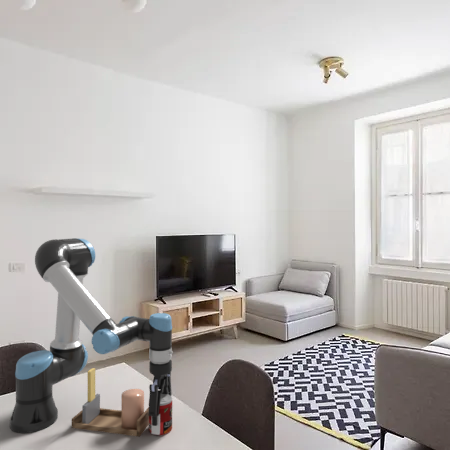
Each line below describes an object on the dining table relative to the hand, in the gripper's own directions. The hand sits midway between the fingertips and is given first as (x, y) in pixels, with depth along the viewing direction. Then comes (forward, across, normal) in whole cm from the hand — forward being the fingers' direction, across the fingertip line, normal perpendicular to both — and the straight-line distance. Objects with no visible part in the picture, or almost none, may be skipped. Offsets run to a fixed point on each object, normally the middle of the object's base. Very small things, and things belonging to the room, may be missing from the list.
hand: (160, 427), depth 128 cm
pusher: (+1, 0, +26) cm, 26 cm away
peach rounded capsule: (+1, 0, +10) cm, 10 cm away
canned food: (+1, 0, 0) cm, 1 cm away
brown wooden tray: (+1, 0, +18) cm, 18 cm away
